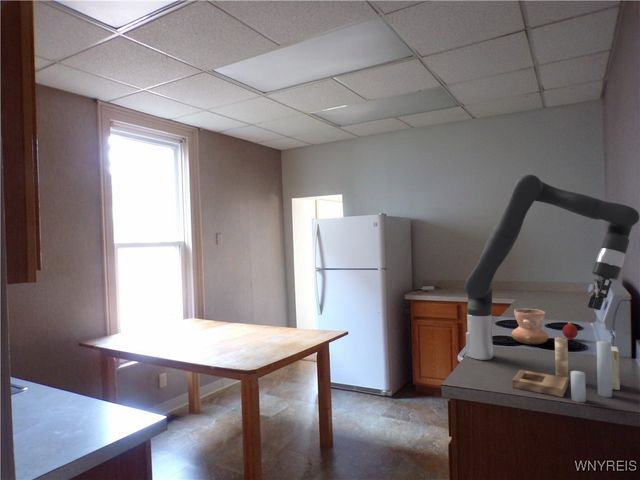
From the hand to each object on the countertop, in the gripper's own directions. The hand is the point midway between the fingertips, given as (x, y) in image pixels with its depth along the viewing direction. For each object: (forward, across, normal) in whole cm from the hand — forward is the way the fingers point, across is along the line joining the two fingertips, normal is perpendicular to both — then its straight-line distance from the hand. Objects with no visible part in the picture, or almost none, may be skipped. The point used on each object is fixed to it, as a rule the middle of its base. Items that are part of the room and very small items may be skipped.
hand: (593, 308), depth 138 cm
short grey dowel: (+27, +22, 0) cm, 35 cm away
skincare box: (+22, +7, +10) cm, 25 cm away
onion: (+16, -48, +4) cm, 51 cm away
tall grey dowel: (+24, +15, +7) cm, 29 cm away
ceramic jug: (+22, -40, -11) cm, 47 cm away
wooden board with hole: (+29, +14, -9) cm, 34 cm away
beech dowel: (+26, +7, -3) cm, 27 cm away
